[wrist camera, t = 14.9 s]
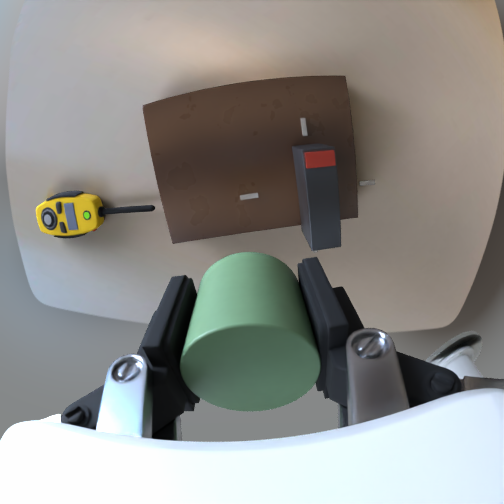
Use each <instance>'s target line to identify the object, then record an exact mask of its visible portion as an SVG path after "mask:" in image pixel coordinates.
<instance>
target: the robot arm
mask: <svg viewBox="0 0 504 504" xmlns="http://www.w3.org/2000/svg"><path fill="white" fill-rule="evenodd" d="M298 278H299V286H300V289H301V292H302V296H303V299H304V302H305V306H306V309H307V312H308V316H309V319H310V323H311V326H312V330H313V333H314V337H315V340H316V344H317V347H318V351H319V355H320V359H321V371H320V374H319V377H318V379H317V381H316V387H317V390H318V391H323V393H324V396H325V399H326V398H330V399H331V400H333V401H335V402H337V403H338V429H334V430H329V431H324V432H318V433H313V434H307V435H301V436H294V437H285V438H277V439H268V440H256V441H238V442H189V441H182V432H181V418H180V415H181V414H182V413H184V411H194V407H195V403H199V401H200V397H198V396H197V395H196V394H194V393H193V392H192V391H191V390H190V389H189V388H188V386H187V385H186V383H185V382H184V380H183V378H182V375H181V371H180V360H181V355H182V351H183V347H184V343H185V339H186V335H187V331H188V327H189V323H190V319H191V316H192V312H193V308H194V304H195V300H196V297H197V293H196V290H195V286H194V283H193V280H192V278H188V277H187V276H186V275H183V276H175V277H172V278H171V280H170V282H169V284H168V286H167V289H166V291H165V293H164V295H163V298H162V300H161V302H160V305H159V307H158V309H157V311H155V312H154V314H153V316H152V319H151V321H150V323H149V326H148V328H147V330H146V333H145V335H144V338H143V340H142V343H141V345H140V347H139V350H138V352H137V354H127V355H123V356H121V357H119V358H118V359H116V360H115V361H114V362H113V363H112V364H111V365H110V367H109V369H108V372H107V377H106V381H105V384H104V385H103V386H101V387H99V388H98V389H96V390H94V391H93V392H91V393H89V394H88V395H86V396H84V397H82V398H81V399H79V400H77V401H76V402H74V403H72V404H71V405H69V406H68V407H67V408H66V409H65V411H64V412H63V415H62V416H61V415H60V414H57V415H55V416H52V417H49V418H46V419H43V420H40V421H36V420H35V421H27V422H21V423H17V424H15V425H13V426H11V427H10V428H9V429H8V430H7V431H6V432H5V434H4V435H3V437H2V439H1V441H0V504H504V379H493V378H483V376H482V374H481V373H480V371H479V370H478V368H477V367H476V366H475V364H474V363H473V359H474V355H475V352H474V350H473V348H472V347H470V346H464V347H461V348H458V349H456V350H455V351H453V352H451V353H450V354H449V355H447V356H446V357H445V358H444V359H442V360H441V361H440V362H439V363H438V364H437V365H435V364H432V363H429V362H426V361H423V360H420V359H417V358H414V357H411V356H408V355H405V354H403V353H400V352H397V351H396V349H395V346H394V342H393V340H392V338H391V337H390V336H389V335H388V334H387V333H386V332H384V331H382V330H380V329H376V328H364V326H363V324H362V322H361V320H360V318H359V316H358V314H357V312H356V311H355V309H354V307H353V305H352V303H351V301H350V299H349V297H348V295H347V293H346V291H345V290H344V288H343V287H336V288H332V287H331V285H330V283H329V281H328V278H327V276H326V274H325V272H324V270H323V268H322V266H321V264H320V262H319V260H318V258H317V257H314V258H307V259H303V260H302V263H298Z"/></svg>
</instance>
